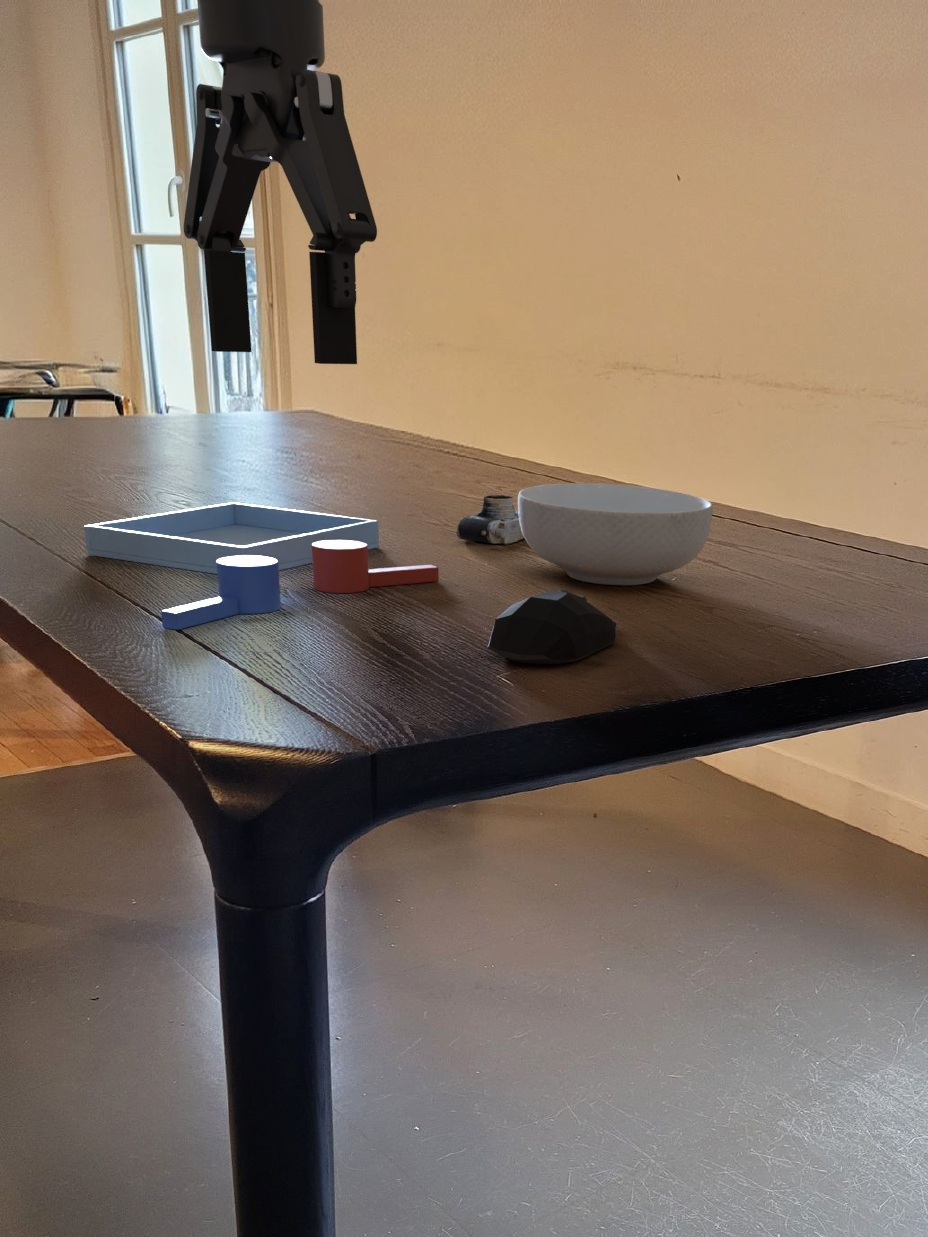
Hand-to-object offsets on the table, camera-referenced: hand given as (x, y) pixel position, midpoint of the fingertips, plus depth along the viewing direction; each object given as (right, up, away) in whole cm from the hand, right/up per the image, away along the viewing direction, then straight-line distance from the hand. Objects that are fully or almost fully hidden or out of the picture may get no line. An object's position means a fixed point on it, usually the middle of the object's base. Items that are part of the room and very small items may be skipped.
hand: (281, 358), depth 88 cm
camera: (+10, -2, +43) cm, 45 cm away
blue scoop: (-6, -16, +6) cm, 19 cm away
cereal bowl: (+22, -9, +27) cm, 36 cm away
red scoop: (+3, -11, +19) cm, 22 cm away
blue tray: (-12, -6, +30) cm, 33 cm away
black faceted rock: (+19, -19, +3) cm, 27 cm away
